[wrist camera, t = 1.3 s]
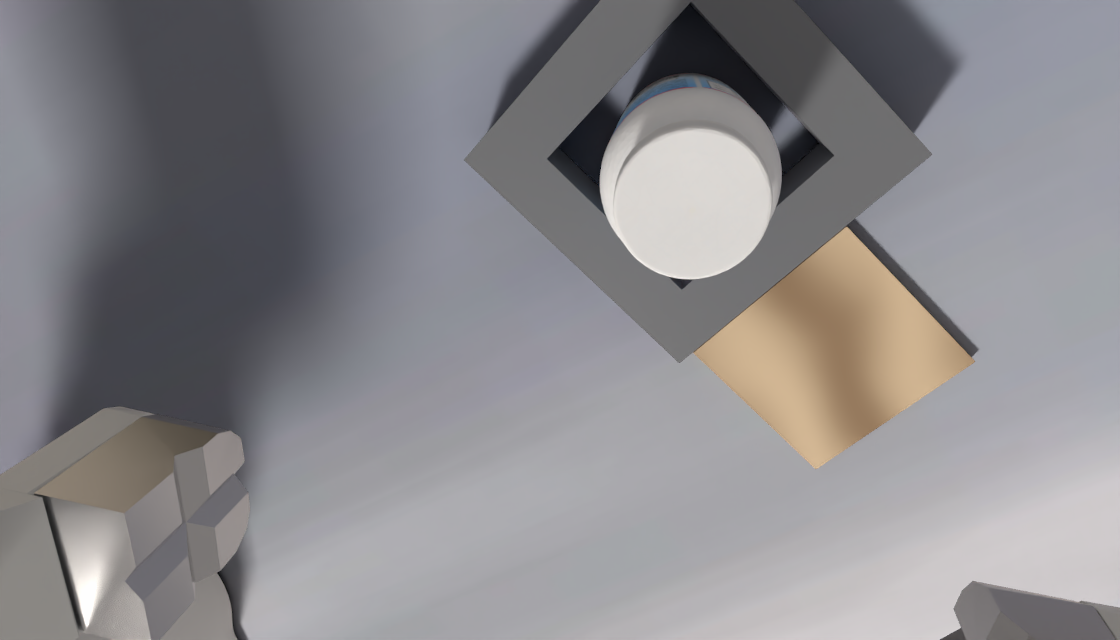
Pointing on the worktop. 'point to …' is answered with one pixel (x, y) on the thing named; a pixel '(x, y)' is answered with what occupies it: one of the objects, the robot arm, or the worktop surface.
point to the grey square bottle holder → (806, 190)
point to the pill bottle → (690, 177)
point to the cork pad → (833, 350)
